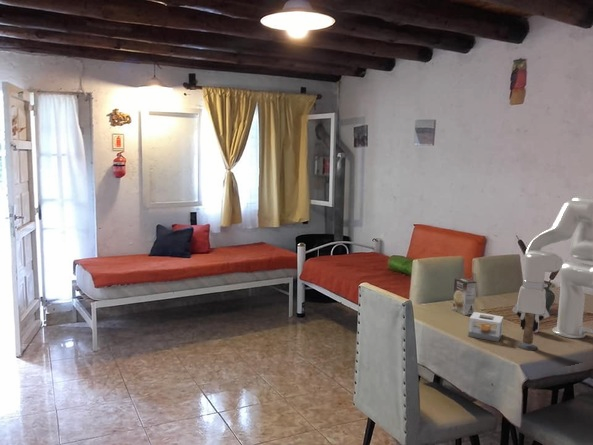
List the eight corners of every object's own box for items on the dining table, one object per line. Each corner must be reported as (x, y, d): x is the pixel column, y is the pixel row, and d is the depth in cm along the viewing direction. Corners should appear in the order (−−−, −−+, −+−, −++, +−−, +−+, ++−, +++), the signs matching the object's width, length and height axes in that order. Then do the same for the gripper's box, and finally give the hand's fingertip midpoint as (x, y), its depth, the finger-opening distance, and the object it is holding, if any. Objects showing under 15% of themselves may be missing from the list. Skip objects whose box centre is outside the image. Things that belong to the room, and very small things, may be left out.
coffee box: (451, 309, 257) (453, 278, 255) (462, 308, 259) (464, 277, 257) (463, 315, 249) (466, 282, 247) (474, 314, 251) (477, 281, 249)
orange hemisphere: (491, 329, 221) (491, 325, 221) (489, 332, 218) (490, 327, 218) (481, 327, 223) (481, 323, 223) (479, 330, 220) (480, 325, 219)
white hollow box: (501, 334, 222) (503, 316, 221) (498, 341, 214) (499, 322, 213) (472, 329, 228) (473, 311, 227) (468, 336, 219) (469, 317, 218)
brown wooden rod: (532, 341, 209) (536, 307, 207) (532, 344, 205) (535, 310, 204) (523, 340, 210) (526, 306, 209) (522, 342, 207) (525, 308, 205)
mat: (537, 346, 210) (537, 345, 210) (536, 351, 204) (536, 350, 204) (519, 342, 213) (519, 341, 213) (517, 348, 207) (517, 347, 207)
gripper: (556, 286, 204) (552, 331, 207) (511, 280, 212) (507, 323, 215) (556, 290, 198) (551, 336, 200) (509, 283, 206) (505, 328, 208)
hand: (528, 329), depth 207 cm, fingers closed on brown wooden rod, 3 cm apart
